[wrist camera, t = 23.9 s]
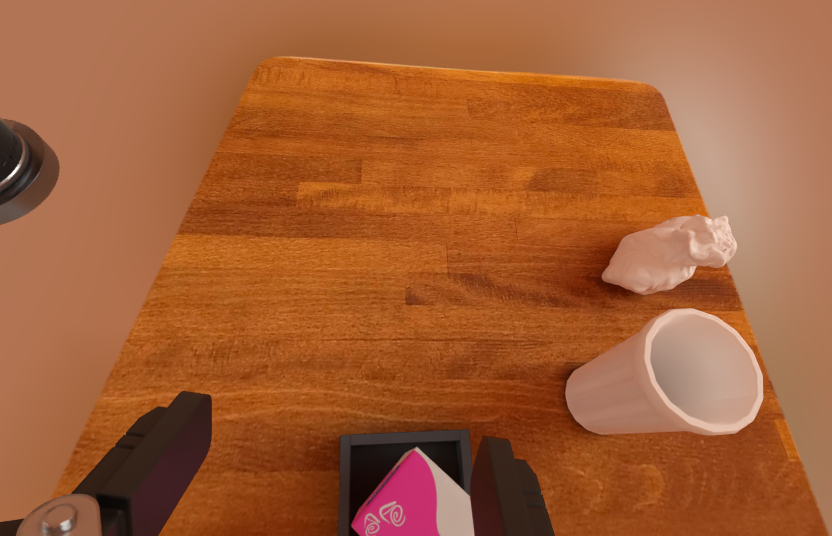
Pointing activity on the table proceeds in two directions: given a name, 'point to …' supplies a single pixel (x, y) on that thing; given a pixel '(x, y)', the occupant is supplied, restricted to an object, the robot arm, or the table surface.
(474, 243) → the table surface
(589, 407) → the cup
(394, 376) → the table surface
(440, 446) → the dark grey square tray
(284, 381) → the table surface
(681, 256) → the pink lumpy shape
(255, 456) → the table surface
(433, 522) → the supplement box
